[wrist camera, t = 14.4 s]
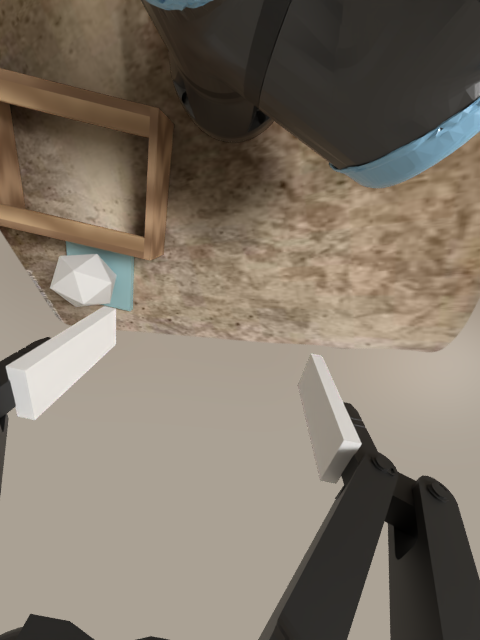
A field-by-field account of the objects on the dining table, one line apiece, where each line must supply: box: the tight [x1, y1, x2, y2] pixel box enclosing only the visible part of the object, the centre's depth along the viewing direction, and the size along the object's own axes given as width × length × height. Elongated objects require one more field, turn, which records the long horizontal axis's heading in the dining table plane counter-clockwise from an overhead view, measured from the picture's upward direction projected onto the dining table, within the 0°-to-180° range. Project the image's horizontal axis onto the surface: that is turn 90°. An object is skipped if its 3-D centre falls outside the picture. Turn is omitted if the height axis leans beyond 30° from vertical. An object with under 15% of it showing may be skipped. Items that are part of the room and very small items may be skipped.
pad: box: [66, 241, 134, 311], centre depth 42 cm, size 11×11×1 cm
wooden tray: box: [0, 68, 174, 260], centre depth 34 cm, size 18×24×6 cm
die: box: [50, 254, 117, 307], centre depth 38 cm, size 8×9×10 cm
